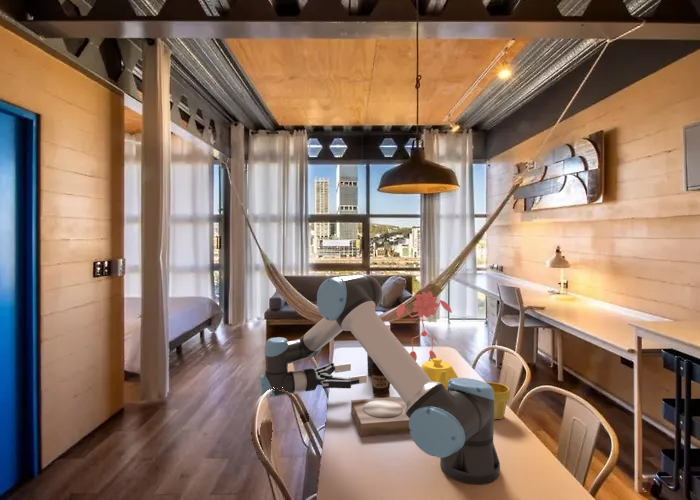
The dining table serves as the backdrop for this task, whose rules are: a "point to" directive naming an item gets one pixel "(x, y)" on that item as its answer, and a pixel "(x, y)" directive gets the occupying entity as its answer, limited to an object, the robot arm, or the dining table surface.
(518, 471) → the dining table surface
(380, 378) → the coffee cup
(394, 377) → the robot arm
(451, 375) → the teapot
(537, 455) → the dining table surface
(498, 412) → the plant pot
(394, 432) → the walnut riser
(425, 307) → the figurine
